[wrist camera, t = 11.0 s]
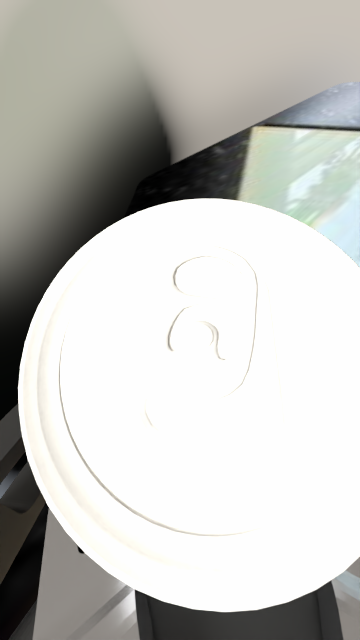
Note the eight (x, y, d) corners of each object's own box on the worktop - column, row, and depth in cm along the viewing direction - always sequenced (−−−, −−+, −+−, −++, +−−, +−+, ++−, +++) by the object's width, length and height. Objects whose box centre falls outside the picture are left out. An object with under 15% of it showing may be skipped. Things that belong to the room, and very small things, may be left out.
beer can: (157, 391, 16) (-104, 563, 2) (169, 330, 18) (73, 174, 4) (221, 403, 16) (561, 824, 1) (227, 339, 17) (408, 189, 3)
